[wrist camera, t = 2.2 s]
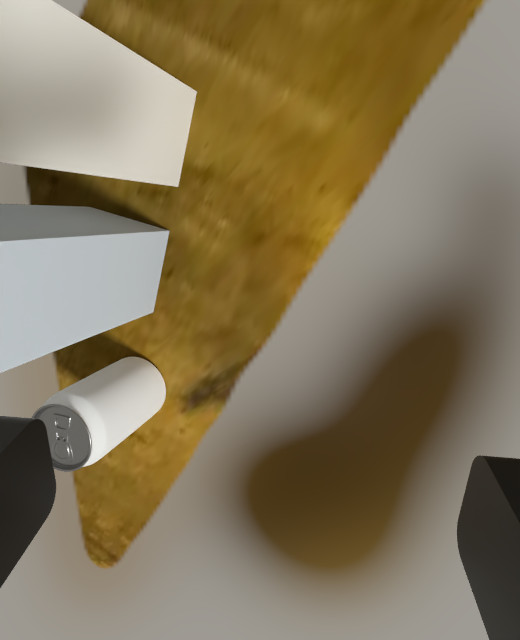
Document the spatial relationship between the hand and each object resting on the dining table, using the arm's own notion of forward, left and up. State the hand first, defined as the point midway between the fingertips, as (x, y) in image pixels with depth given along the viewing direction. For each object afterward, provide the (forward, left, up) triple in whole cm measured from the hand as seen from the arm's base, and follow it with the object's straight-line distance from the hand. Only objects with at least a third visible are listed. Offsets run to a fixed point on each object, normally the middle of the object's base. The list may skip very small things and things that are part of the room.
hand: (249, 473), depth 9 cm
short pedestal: (+5, -22, -32) cm, 39 cm away
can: (+17, -18, -33) cm, 41 cm away
